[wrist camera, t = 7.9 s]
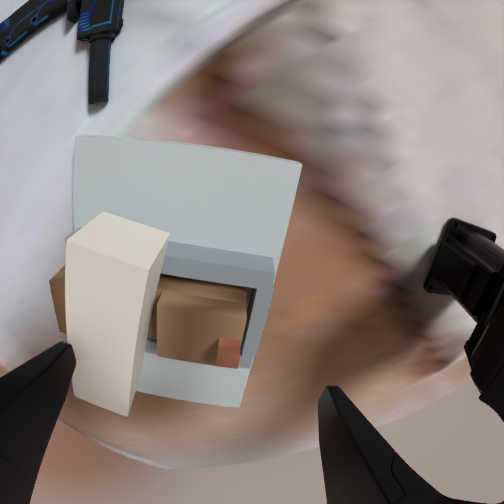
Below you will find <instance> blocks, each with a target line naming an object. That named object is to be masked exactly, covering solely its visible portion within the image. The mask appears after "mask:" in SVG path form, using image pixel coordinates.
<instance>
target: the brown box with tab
mask: <svg viewBox="0 0 504 504" xmlns="http://www.w3.org/2000/svg"><path fill="white" fill-rule="evenodd" d="M49 283H50V288H51V293H52V298H53V303H54V308H55V312H56V317H57V321H58V325H59V329H60V332H63V333H67V330H66V310H65V266H64V267H63V268H62V269H61V270H60V271H59V272H58V273H57V274H56V275H55V276H54V277H53V278H52V279H51V280H50V281H49ZM246 321H247V302H246V287H243V286H236V285H229V284H223V283H216V282H210V281H203V280H197V279H191V278H185V277H179V276H173V275H167V274H160V278H159V282H158V287H157V291H156V296H155V301H154V305H153V310H152V315H151V320H150V325H149V330H148V336H147V338H152V339H157V356H159V357H164V358H170V359H175V360H181V361H187V362H193V363H199V364H206V365H213V366H218V367H226V368H234V369H238V366H239V361H240V347H241V343H242V338H243V334H244V330H245V325H246Z"/></svg>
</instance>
